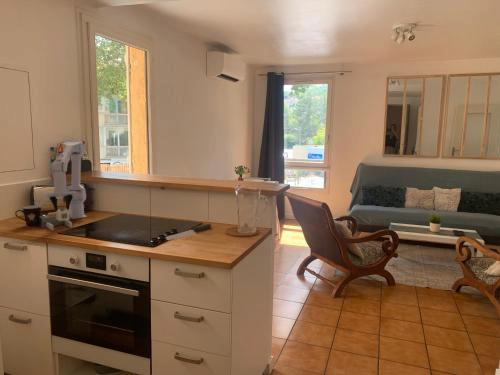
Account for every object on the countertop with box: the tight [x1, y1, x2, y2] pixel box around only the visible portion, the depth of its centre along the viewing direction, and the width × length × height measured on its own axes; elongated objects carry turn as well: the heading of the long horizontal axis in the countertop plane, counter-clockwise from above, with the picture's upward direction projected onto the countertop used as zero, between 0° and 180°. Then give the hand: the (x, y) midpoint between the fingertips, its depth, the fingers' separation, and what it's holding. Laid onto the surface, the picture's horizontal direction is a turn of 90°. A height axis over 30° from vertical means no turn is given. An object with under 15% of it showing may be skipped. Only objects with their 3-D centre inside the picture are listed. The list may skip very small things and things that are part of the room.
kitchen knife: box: [165, 223, 212, 241], centre depth 189 cm, size 29×3×5 cm
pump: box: [55, 207, 69, 221], centre depth 200 cm, size 6×5×6 cm
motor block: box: [38, 211, 71, 229], centre depth 205 cm, size 6×14×6 cm, turn 133°
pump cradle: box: [45, 220, 73, 231], centre depth 200 cm, size 9×11×2 cm
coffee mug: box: [14, 205, 42, 228], centre depth 204 cm, size 12×9×10 cm
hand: (62, 210), depth 200 cm, fingers open, 5 cm apart
